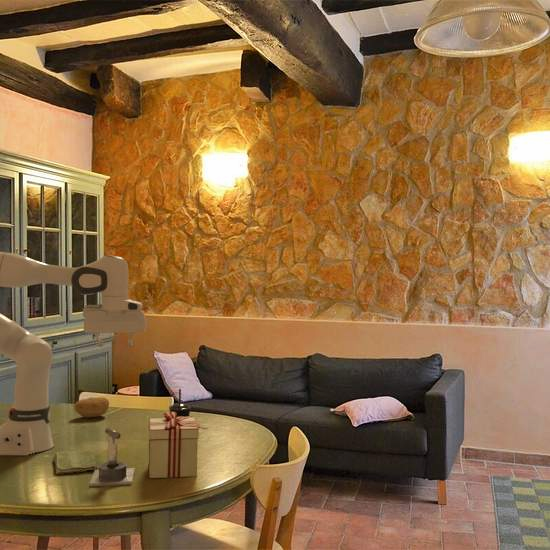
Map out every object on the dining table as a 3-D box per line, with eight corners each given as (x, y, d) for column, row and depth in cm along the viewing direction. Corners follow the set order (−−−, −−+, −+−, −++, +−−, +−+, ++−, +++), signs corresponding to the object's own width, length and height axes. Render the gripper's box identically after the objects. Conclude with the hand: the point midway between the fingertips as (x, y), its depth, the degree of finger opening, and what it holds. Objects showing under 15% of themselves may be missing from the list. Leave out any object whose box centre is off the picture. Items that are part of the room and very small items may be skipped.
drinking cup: (194, 443, 233) (194, 387, 233) (183, 449, 226) (183, 392, 226) (176, 441, 237) (176, 386, 236) (164, 446, 230) (164, 390, 229)
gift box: (210, 475, 200) (210, 419, 200) (149, 481, 195) (149, 424, 194) (201, 458, 216) (201, 407, 216) (144, 463, 211) (144, 410, 211)
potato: (73, 416, 272) (72, 397, 272) (107, 413, 278) (107, 394, 278) (75, 421, 264) (75, 402, 263) (111, 418, 269) (111, 399, 269)
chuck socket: (89, 486, 190) (89, 472, 190) (95, 472, 202) (94, 460, 202) (131, 484, 192) (131, 471, 192) (134, 471, 204) (134, 458, 204)
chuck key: (121, 477, 195) (121, 432, 194) (113, 479, 193) (113, 433, 193) (111, 471, 200) (111, 427, 200) (103, 473, 199) (103, 428, 198)
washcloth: (55, 477, 199) (55, 467, 199) (52, 460, 215) (52, 450, 215) (99, 472, 204) (99, 462, 204) (93, 456, 220) (93, 446, 220)
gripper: (81, 305, 211) (81, 348, 212) (145, 304, 214) (146, 346, 215) (84, 304, 218) (84, 345, 218) (146, 303, 220) (147, 344, 221)
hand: (115, 346), depth 216 cm, fingers open, 8 cm apart
